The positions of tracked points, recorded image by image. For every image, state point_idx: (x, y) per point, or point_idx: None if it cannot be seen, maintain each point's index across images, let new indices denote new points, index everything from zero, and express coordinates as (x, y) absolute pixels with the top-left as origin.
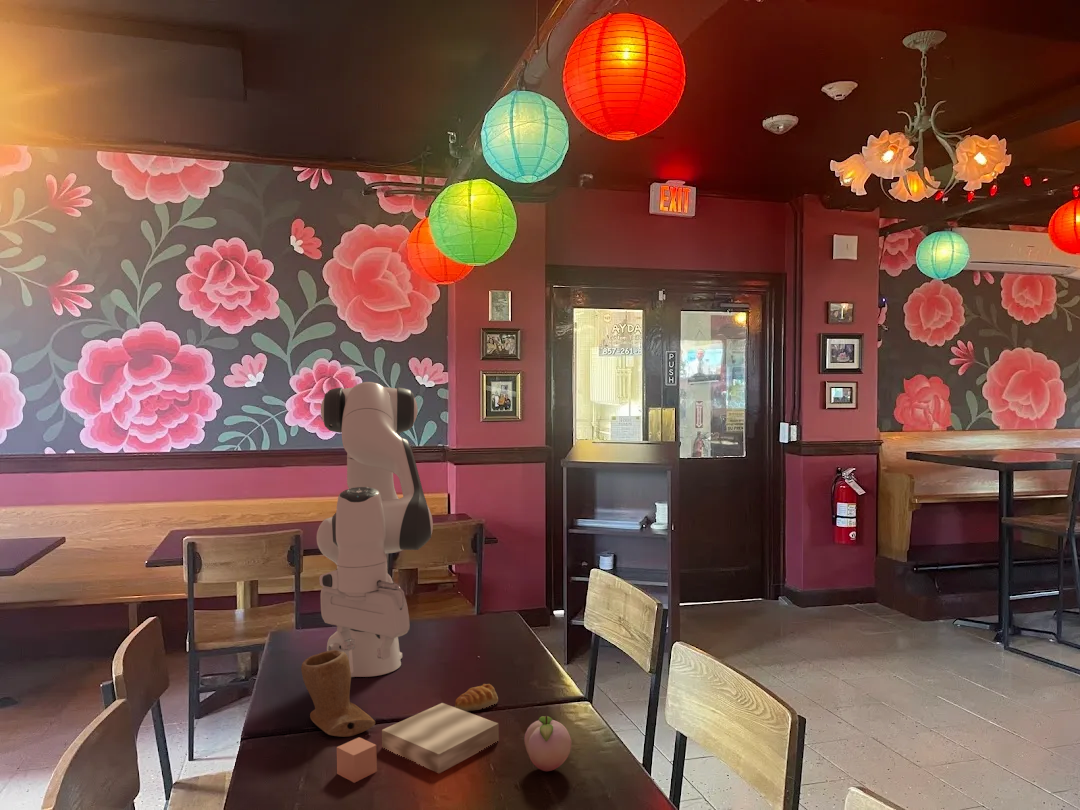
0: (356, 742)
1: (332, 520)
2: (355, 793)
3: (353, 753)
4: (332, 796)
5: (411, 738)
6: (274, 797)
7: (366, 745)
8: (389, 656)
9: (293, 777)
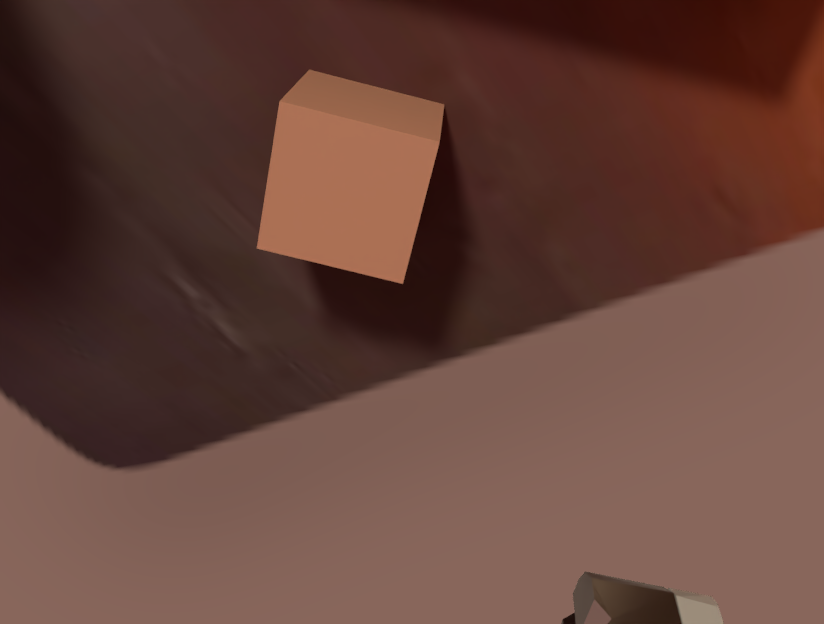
0: (313, 163)
1: None
2: (474, 294)
3: (387, 269)
4: (401, 343)
5: None
6: (208, 420)
7: (390, 169)
8: (708, 600)
9: (145, 292)
